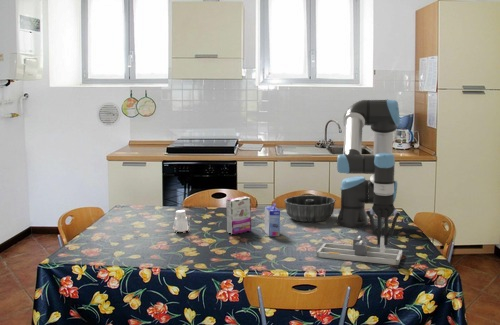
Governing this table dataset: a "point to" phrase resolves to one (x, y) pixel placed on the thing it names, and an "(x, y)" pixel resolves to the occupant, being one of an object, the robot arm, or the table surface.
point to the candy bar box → (238, 215)
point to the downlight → (181, 221)
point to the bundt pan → (310, 207)
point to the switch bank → (349, 254)
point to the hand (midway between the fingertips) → (382, 252)
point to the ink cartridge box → (272, 221)
